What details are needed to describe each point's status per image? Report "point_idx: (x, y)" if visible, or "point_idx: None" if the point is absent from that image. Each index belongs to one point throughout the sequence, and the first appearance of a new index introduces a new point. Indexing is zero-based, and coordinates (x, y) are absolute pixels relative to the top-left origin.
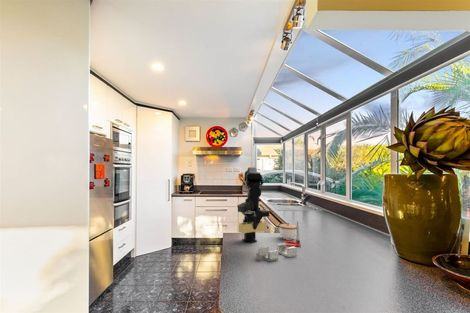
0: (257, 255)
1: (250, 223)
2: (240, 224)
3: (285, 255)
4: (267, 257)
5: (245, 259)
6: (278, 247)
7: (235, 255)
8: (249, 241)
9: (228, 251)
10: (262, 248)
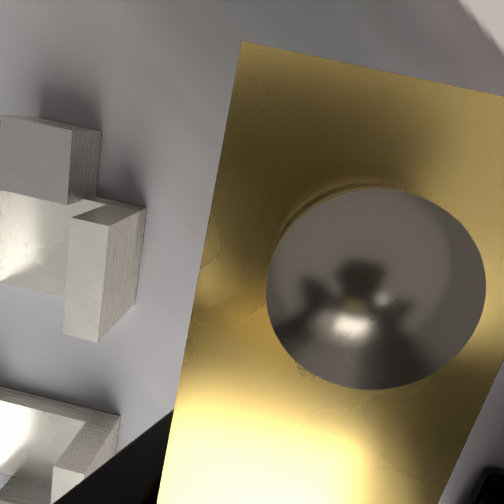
0: (69, 128)
1: (233, 478)
2: (458, 95)
3: (18, 394)
4: (20, 202)
5: (158, 25)
6: (76, 447)
7: (315, 30)
8: (493, 493)
9: (472, 69)
10: (70, 246)
